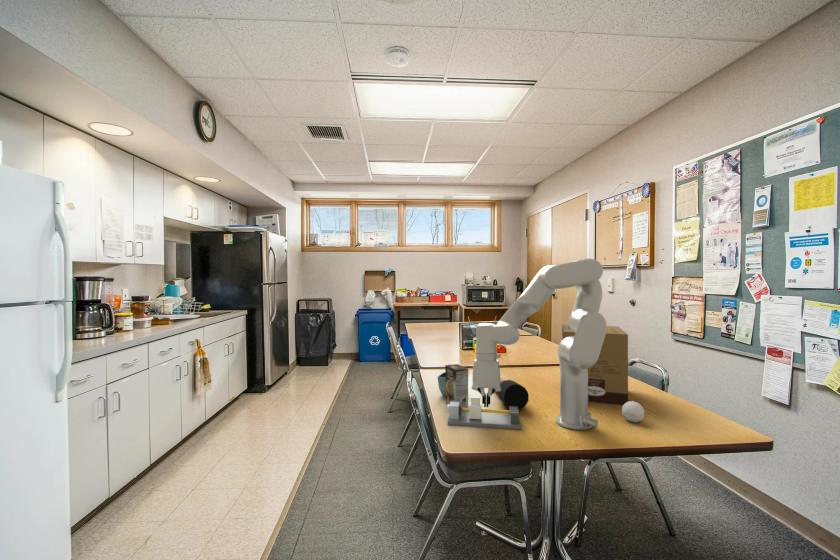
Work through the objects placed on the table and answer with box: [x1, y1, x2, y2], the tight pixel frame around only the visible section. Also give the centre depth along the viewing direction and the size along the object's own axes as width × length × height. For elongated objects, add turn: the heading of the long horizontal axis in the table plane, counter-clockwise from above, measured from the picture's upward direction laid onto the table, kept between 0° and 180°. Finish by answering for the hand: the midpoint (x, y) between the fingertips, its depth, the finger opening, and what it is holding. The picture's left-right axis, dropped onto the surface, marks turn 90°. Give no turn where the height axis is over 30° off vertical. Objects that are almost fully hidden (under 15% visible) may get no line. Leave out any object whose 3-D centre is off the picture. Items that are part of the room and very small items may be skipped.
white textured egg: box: [621, 400, 650, 423], centre depth 135 cm, size 10×7×7 cm
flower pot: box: [437, 371, 446, 397], centre depth 168 cm, size 9×9×9 cm
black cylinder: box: [496, 377, 530, 411], centre depth 164 cm, size 10×34×10 cm, turn 0°
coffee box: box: [444, 363, 469, 408], centre depth 155 cm, size 9×6×16 cm
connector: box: [446, 401, 463, 419], centre depth 139 cm, size 5×5×5 cm
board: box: [447, 406, 522, 430], centre depth 137 cm, size 26×10×5 cm, turn 80°
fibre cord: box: [461, 407, 510, 415], centre depth 137 cm, size 22×1×1 cm, turn 80°
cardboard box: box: [561, 323, 629, 406], centre depth 169 cm, size 26×26×30 cm
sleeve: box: [468, 396, 482, 419], centre depth 138 cm, size 4×5×7 cm
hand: (486, 405), depth 137 cm, fingers closed
